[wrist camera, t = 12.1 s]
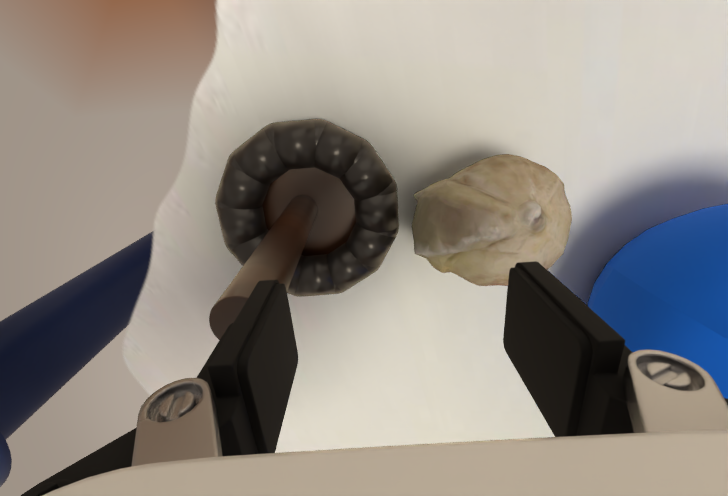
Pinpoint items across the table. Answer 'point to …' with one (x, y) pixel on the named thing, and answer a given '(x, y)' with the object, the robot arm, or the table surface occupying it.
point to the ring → (332, 155)
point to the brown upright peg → (290, 235)
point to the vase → (672, 291)
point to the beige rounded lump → (492, 219)
